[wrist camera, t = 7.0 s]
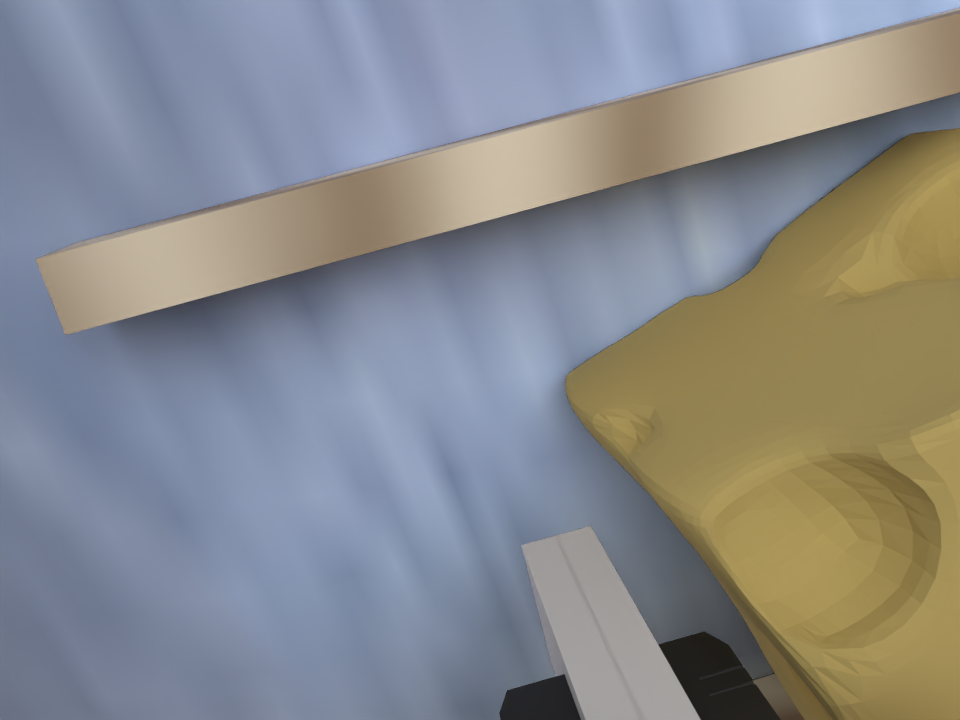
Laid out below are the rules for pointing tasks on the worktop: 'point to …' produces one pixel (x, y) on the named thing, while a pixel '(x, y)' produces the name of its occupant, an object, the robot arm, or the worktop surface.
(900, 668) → the cheese
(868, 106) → the channel
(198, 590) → the worktop surface
